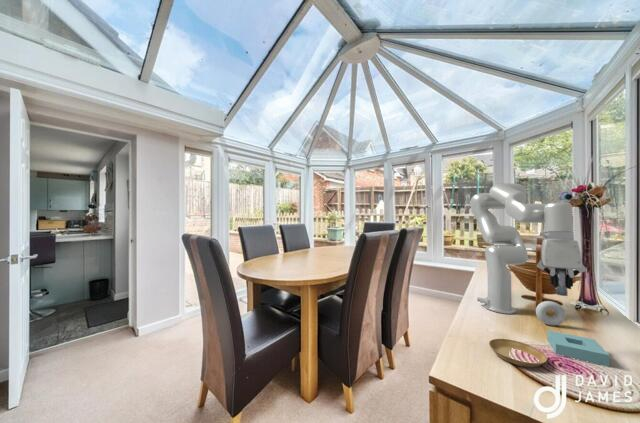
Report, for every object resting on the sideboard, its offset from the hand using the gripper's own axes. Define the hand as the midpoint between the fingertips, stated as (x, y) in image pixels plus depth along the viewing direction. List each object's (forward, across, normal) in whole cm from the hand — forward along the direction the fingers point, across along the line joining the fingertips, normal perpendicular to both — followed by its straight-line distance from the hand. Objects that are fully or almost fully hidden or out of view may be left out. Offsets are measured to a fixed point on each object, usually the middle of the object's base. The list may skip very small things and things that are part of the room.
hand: (561, 287), depth 89 cm
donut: (+20, 0, +20) cm, 28 cm away
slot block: (+20, +2, -4) cm, 21 cm away
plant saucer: (+21, -15, -19) cm, 32 cm away
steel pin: (+3, 0, 0) cm, 3 cm away
